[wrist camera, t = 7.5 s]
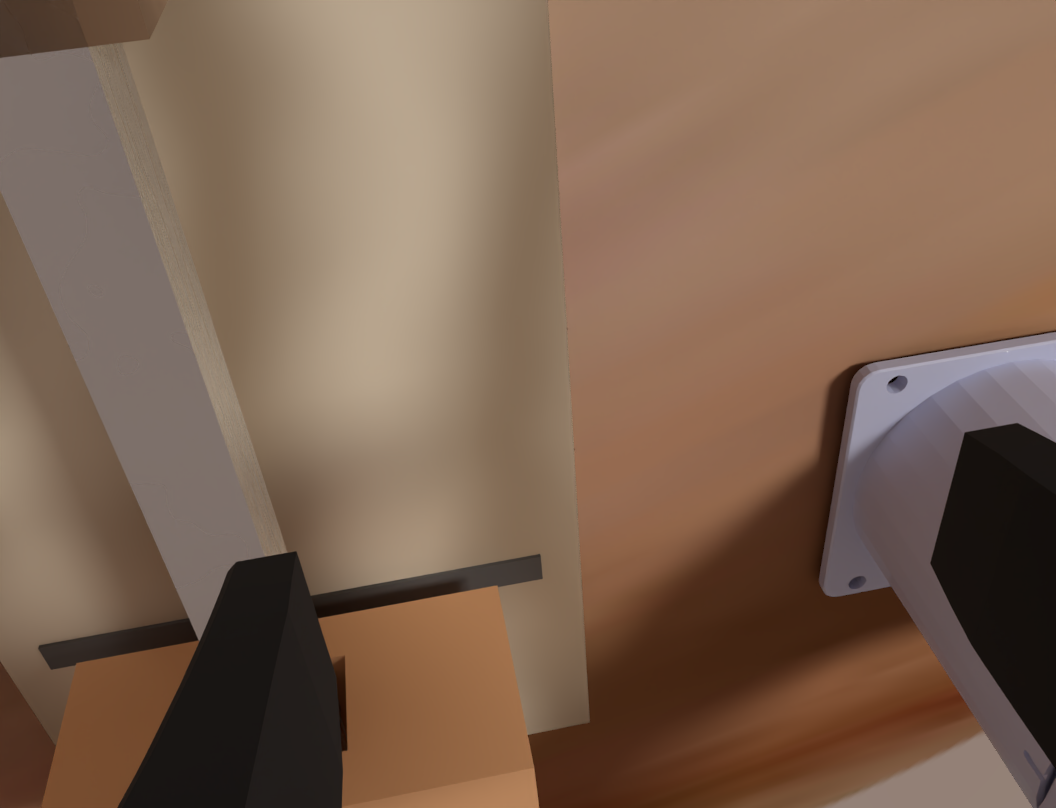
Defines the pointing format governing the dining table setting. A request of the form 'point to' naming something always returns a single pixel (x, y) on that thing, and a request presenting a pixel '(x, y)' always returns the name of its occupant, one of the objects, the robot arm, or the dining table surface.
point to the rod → (133, 308)
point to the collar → (366, 710)
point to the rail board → (323, 328)
